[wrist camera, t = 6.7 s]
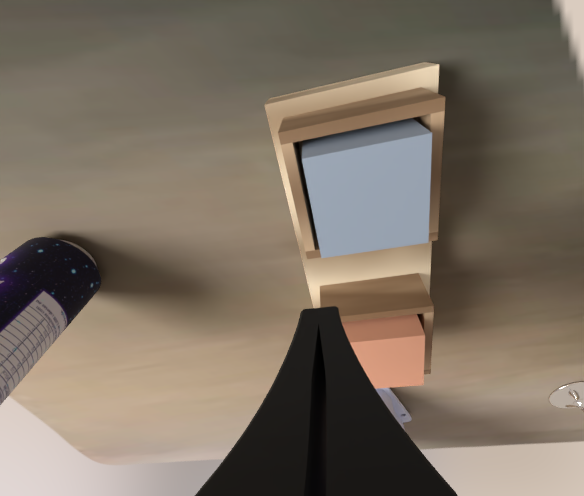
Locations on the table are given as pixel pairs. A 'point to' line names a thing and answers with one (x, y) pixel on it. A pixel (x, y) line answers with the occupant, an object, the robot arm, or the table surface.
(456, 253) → the table surface
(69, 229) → the table surface
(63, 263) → the beverage can
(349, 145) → the slate key
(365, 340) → the terracotta key
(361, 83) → the wooden socket board
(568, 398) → the wineglass
